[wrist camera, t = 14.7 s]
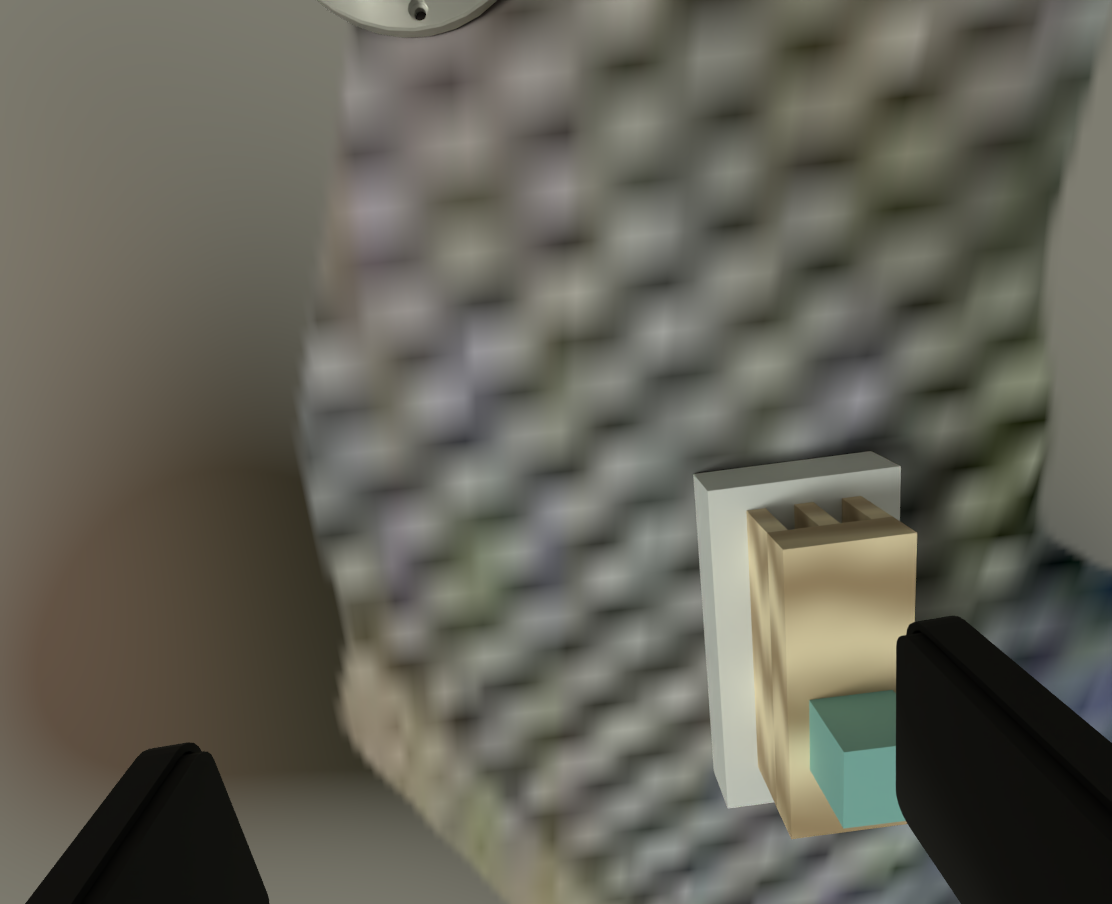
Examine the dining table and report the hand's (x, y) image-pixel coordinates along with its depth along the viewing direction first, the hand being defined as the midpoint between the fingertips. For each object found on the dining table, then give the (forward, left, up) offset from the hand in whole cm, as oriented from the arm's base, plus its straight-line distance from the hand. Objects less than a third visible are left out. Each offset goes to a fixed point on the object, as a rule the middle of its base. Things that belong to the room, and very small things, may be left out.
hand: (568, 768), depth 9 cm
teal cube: (+16, +13, -19) cm, 28 cm away
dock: (+15, +13, -27) cm, 33 cm away
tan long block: (+14, +13, -24) cm, 30 cm away
